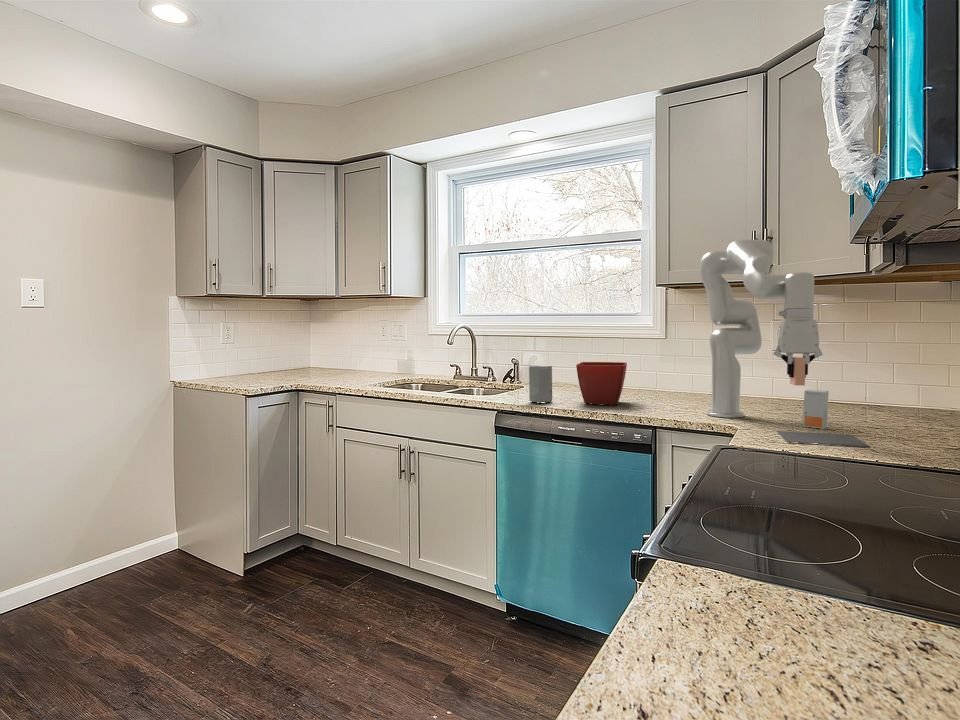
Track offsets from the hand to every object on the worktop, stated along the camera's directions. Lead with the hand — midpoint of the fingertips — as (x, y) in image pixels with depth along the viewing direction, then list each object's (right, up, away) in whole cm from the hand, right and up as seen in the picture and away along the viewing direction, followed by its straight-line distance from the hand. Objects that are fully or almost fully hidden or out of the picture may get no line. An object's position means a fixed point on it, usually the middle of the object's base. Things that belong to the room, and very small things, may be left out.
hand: (797, 376), depth 167 cm
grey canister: (-68, -13, +73) cm, 100 cm away
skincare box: (+14, -17, +14) cm, 26 cm away
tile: (0, -2, 0) cm, 2 cm away
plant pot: (-43, -13, +70) cm, 83 cm away
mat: (+5, -18, -4) cm, 19 cm away
